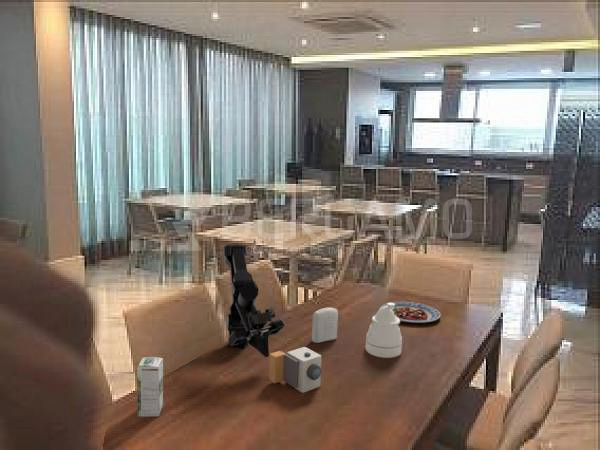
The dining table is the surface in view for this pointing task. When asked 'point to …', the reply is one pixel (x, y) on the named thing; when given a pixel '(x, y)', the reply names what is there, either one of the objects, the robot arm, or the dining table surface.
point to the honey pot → (384, 334)
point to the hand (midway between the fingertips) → (267, 356)
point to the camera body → (307, 368)
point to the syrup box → (150, 387)
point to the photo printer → (324, 325)
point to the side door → (283, 368)
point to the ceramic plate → (414, 312)
